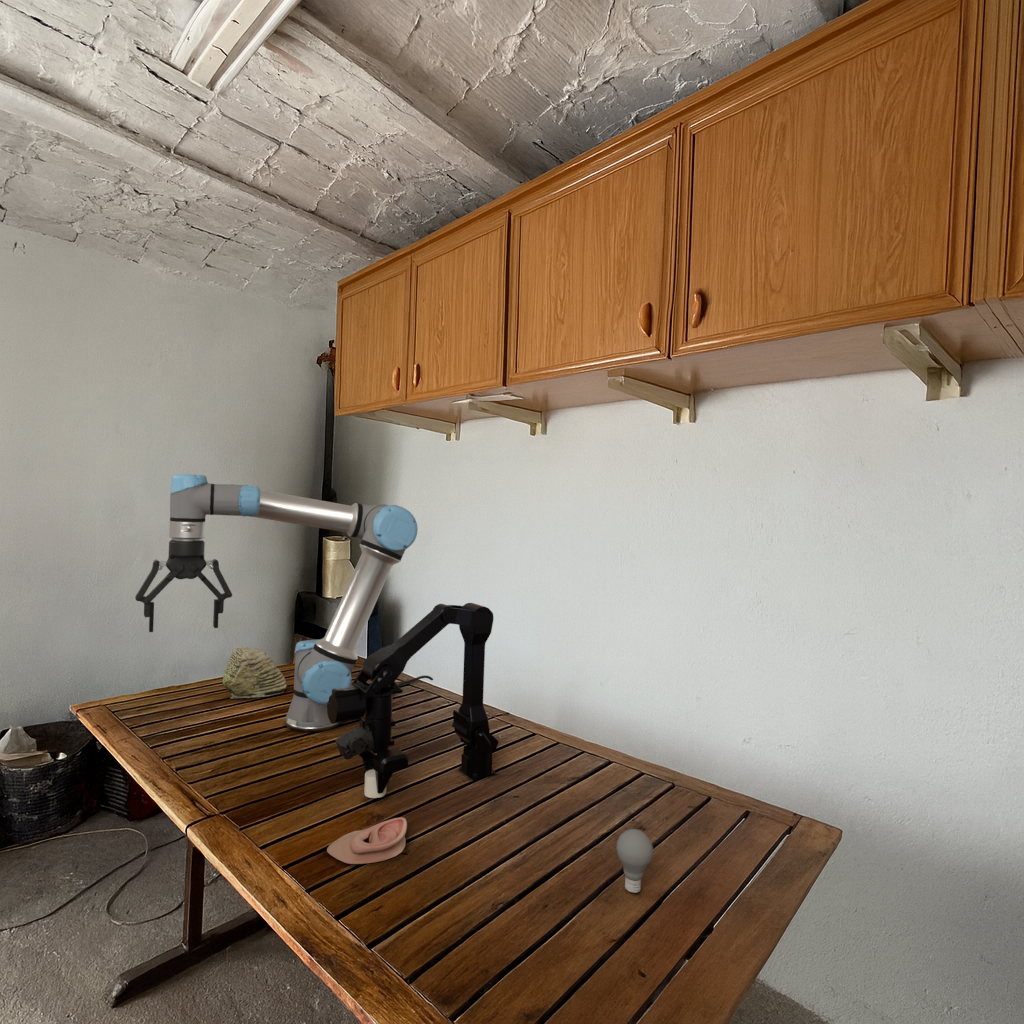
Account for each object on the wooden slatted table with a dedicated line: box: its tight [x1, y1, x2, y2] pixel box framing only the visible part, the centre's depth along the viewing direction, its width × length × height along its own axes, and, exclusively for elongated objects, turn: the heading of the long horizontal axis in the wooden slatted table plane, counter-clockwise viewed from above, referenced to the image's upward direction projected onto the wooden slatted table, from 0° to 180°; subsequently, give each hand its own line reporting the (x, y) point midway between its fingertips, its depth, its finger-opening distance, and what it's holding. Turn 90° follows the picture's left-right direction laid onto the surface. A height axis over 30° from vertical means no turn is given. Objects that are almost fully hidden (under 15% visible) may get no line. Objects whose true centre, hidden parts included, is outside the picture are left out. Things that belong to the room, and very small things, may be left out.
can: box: [363, 769, 388, 799], centre depth 134 cm, size 5×5×4 cm
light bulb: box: [615, 828, 654, 894], centre depth 106 cm, size 6×6×10 cm
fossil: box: [222, 646, 288, 699], centre depth 198 cm, size 9×18×15 cm, turn 132°
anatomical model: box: [326, 816, 408, 865], centre depth 115 cm, size 13×4×12 cm
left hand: (184, 629), depth 150 cm, fingers open, 13 cm apart
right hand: (375, 788), depth 134 cm, fingers closed on can, 4 cm apart
